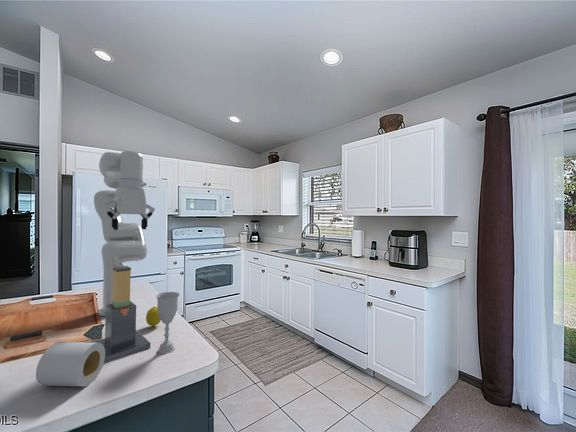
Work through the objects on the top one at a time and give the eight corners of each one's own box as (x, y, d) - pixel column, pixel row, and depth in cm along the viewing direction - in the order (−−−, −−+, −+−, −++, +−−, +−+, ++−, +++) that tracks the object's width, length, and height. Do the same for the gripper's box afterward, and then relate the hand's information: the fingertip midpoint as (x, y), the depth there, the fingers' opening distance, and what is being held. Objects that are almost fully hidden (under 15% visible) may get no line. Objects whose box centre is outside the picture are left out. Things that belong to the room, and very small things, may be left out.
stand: (89, 347, 88) (90, 304, 88) (136, 333, 98) (136, 296, 98) (100, 363, 79) (101, 316, 78) (150, 347, 89) (151, 305, 89)
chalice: (182, 346, 90) (184, 293, 90) (167, 356, 83) (168, 299, 83) (165, 342, 92) (166, 291, 92) (149, 352, 86) (150, 296, 86)
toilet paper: (35, 394, 65) (36, 353, 65) (68, 370, 75) (69, 335, 75) (76, 395, 65) (77, 354, 65) (104, 371, 75) (105, 336, 75)
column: (111, 324, 88) (112, 267, 88) (125, 321, 91) (127, 265, 91) (114, 328, 85) (116, 269, 85) (129, 324, 88) (131, 267, 88)
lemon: (155, 330, 102) (155, 309, 102) (142, 328, 103) (143, 308, 103) (164, 324, 107) (165, 304, 107) (152, 323, 108) (153, 303, 108)
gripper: (151, 187, 110) (150, 228, 110) (101, 182, 98) (100, 229, 98) (158, 186, 105) (157, 229, 105) (107, 181, 93) (105, 230, 93)
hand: (130, 229), depth 102 cm, fingers open, 9 cm apart
